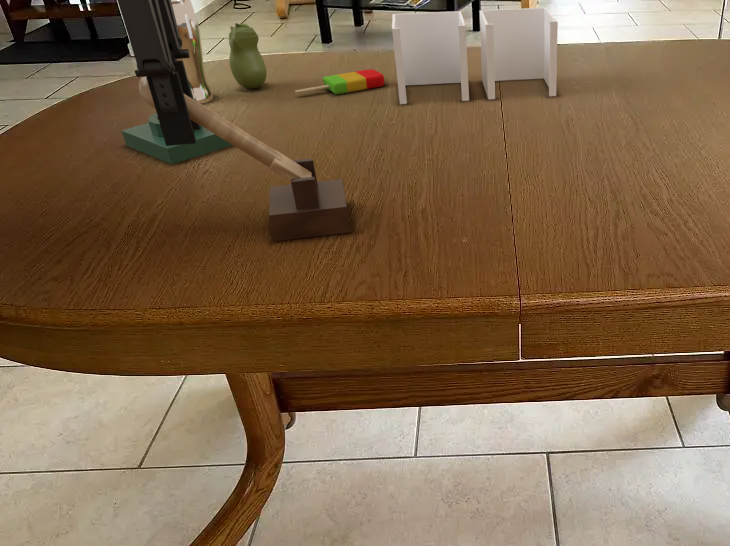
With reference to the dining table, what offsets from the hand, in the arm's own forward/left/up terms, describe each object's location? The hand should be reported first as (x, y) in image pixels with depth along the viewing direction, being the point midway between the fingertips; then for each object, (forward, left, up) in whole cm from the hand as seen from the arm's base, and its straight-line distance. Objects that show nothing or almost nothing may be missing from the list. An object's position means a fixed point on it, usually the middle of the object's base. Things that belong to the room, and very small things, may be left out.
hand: (183, 135), depth 74 cm
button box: (-28, +14, -11) cm, 33 cm away
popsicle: (-31, +45, -11) cm, 56 cm away
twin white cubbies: (-13, +58, -11) cm, 60 cm away
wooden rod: (+2, +3, -2) cm, 4 cm away
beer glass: (-46, +27, -11) cm, 55 cm away
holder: (+7, +9, -11) cm, 15 cm away
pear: (-44, +37, -11) cm, 59 cm away
